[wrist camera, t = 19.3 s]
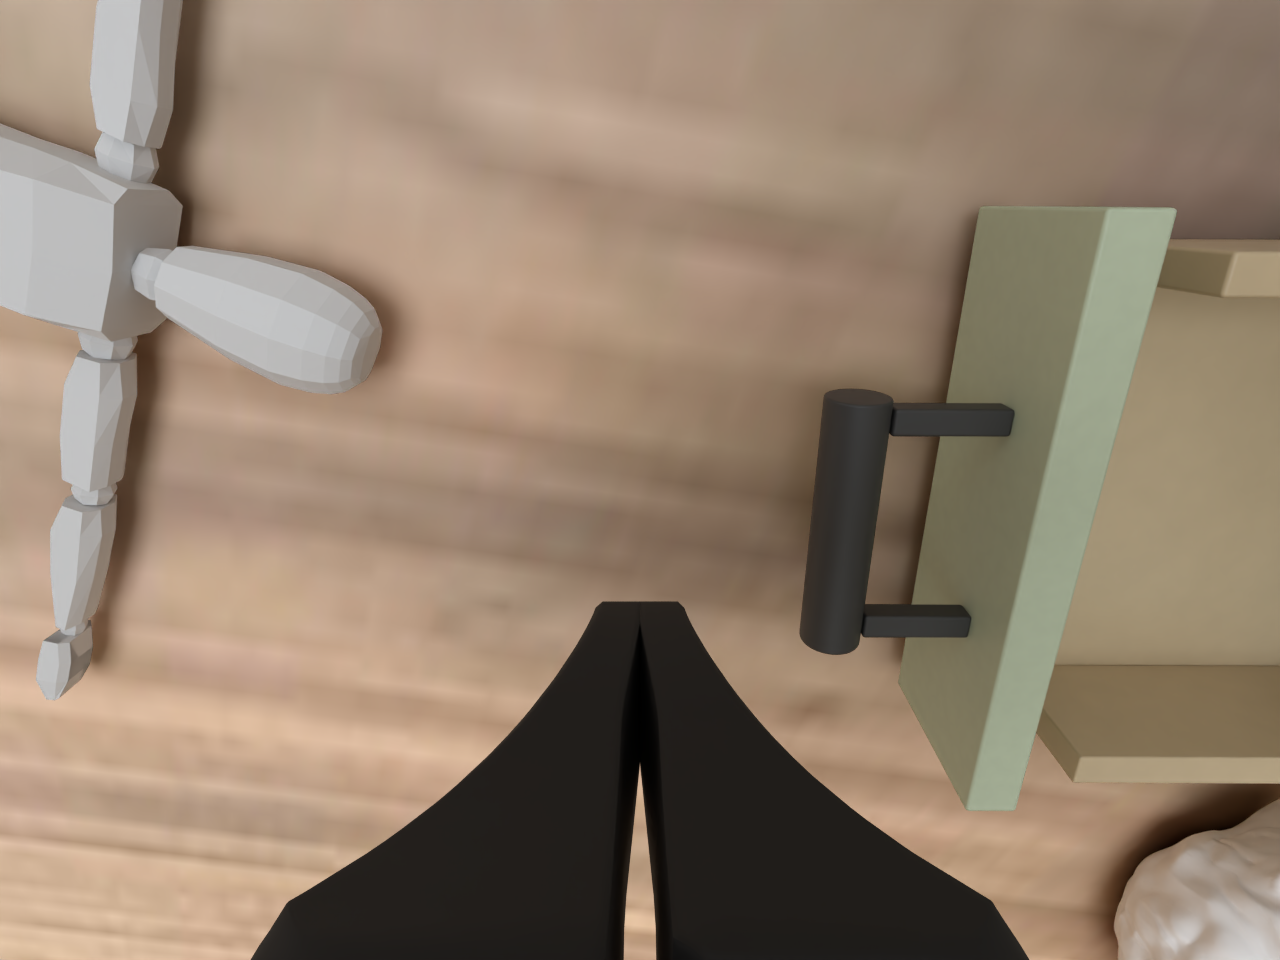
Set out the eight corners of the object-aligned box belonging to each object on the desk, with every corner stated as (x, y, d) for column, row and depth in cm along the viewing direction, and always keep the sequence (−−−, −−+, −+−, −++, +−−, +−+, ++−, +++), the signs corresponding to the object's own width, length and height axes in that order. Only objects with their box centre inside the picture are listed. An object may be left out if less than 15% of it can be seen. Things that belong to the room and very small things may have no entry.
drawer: (767, 682, 21) (801, 811, 16) (808, 205, 16) (873, 206, 12) (1344, 684, 21) (1534, 814, 16) (1566, 207, 16) (1925, 208, 11)
